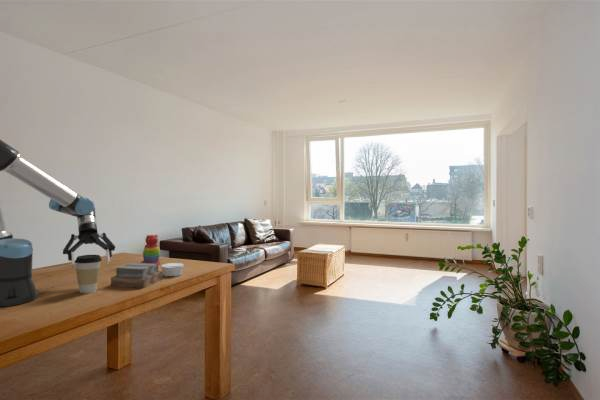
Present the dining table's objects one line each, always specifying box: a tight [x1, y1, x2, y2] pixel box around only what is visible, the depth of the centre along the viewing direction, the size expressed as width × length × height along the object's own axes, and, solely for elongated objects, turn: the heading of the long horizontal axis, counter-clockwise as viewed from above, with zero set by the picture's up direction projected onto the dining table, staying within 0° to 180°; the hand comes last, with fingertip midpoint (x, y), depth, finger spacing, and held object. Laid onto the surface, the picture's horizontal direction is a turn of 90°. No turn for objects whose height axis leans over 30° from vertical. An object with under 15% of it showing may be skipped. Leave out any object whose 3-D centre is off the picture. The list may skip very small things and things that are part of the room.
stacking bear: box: [139, 234, 161, 266], centre depth 199 cm, size 11×10×18 cm
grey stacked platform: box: [110, 262, 164, 289], centre depth 159 cm, size 16×16×8 cm
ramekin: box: [160, 262, 185, 277], centre depth 176 cm, size 11×11×5 cm
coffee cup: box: [74, 254, 103, 294], centre depth 144 cm, size 10×10×15 cm
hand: (91, 264), depth 148 cm, fingers open, 13 cm apart
